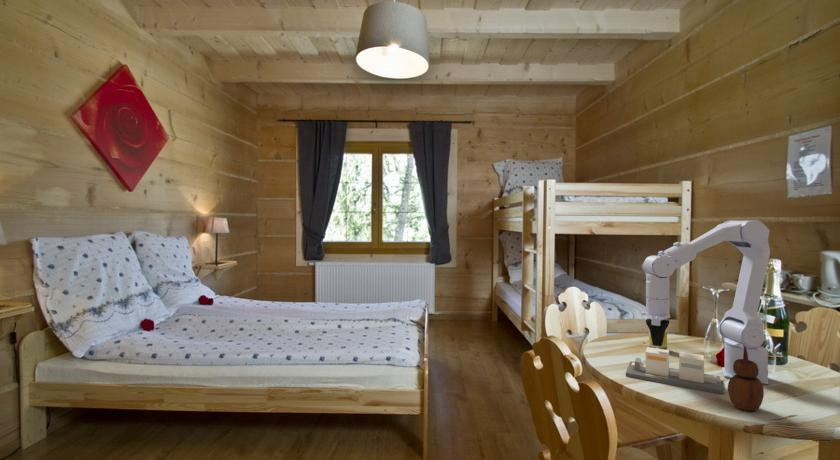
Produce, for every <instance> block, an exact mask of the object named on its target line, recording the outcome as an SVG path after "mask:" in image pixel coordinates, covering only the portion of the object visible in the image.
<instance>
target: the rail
mask: <svg viewBox="0 0 840 460" xmlns="http://www.w3.org/2000/svg"><path fill="white" fill-rule="evenodd" d="M641 358H642V357H641ZM641 358H639V357H635V360H634V361H631V360H630V362H629V364H628V366H627V369H626V371H625V377H629V378H632V379H634V378H635V379H639V380H644V381H649V382H650V381H651V382H656V383H661V384H667V385H672V386H678V387H683V388H687V389H692V390H693V389H694V390H697V391H705V392H709V393H710V392H711V393H714V394H715V393H716V394H720V395H723V386H722V381H721V376H720V375H714V374H709V373H705V356H704V354H698V353H693V352H692V353H690V352H682V351H679V355H678V358H679V359H678V362H679V364H678V365H679V368H673V367H672V368H671V367H669V370H668V377H667V376H661V375H656V374H650V373H646V363H642V359H641Z"/></svg>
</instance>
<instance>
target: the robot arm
mask: <svg viewBox="0 0 840 460" xmlns="http://www.w3.org/2000/svg"><path fill="white" fill-rule="evenodd" d="M770 230H771V229H769V228H768V227H767V226H766V225H765V224H764V223H763V222H762V221H761V220H757V219H751V220H736V219H735V220H734V219H733V220H731V219H730V220H726V221H724V222H723V223H719V224H717V225H716V226H715V227H713V228H712V229H710V230H708V231H707V232H705V233H704V234H702V235H700V236H698V237H697V238H695V239H693V240H691V241H689V242H685V241H681V242H679V241H676V242H674V243H673V244H672V245H673V246H671V247H669V248H667V249H665V250H659V251H658V252H657V253H658V254H657V255H649V256H647V257H646V258H645V260H644V261H643V264H641V268H642V271H643V272H644V273H645V279H646V280H645V311H644V310H643V311H641V312H640V313H641V315H643V316H646V317H647V318H646V320H645V324H646V325H647V327H648V331H649V330H650V333H651V338H652V343H653V345H654V346H661V347H662V344H663V339H664V334H665V331H666V329H667V328H668V327H669V325H670V320H669V319H670V318H671V314H670V276H672V275H673V273H674V272H675V270H676V269H678V268H681V267H682V266H684V265H686V264H689V263H690V262H691V261H693V260H695V259H696V258H697V257H696V256H697V254H698V253H700V252H702V251H705V250H707V249H710V248H711V247H713V246H715V245H717V244H720V243H721V242H727V243H729V244H731V245H732V246H734V247H736V248H737V249H738V250H739V251H740V252H741V253H742V255H743V257H742V261H741V266H740V271H739V276H738V280H737V285H736V289H735V294H734V299H733V303H732V307H731V308H730V309H729V310H727V311H726V312H724V315H723V318H722V319H721V321H720V322H719V323H718V333H719V335H720V336H721V337H723V341H724V366H723V367H721V370H722V374H723V377H724V378H729V379H731V378H732V377H733V376H734V375H736V374H735V373H734V371H733V364H734V362H735V361H736V360H737V359H743V354H744V346H745V347H746V350H747V353H748V360H750V361H753V362H755V363H756V364H757V365H758V369H759V374H758V376H757V377H756V378H758V379H759V380H760V381H761V383H762V384H763V385H764V384H765V385H768V384H769V381H768V379H769V359H768V357H769V356H768V350H767V348H766V347H761V345H762V344H763V343H764V341H765V335H766V334H765V332H764V325H765V323H764V321H763V320H762V318H761V317H760V315H758V310H759V307H760V306H759V305H760V301H761V297H762V292H763V288H764V283H765V278H766V274H767V270H768V263H769V260H770V255H771V248H770V244H769V235H770ZM667 330H668V329H667Z"/></svg>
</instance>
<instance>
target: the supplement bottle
mask: <svg viewBox="0 0 840 460" xmlns="http://www.w3.org/2000/svg"><path fill="white" fill-rule="evenodd" d="M648 347H650V348H657V349H664V350H668V329H666V331H665V334H664V339H663V344H662V347H661V346H654V345H653V343H652V338H651V333H650V330H649V329H648Z"/></svg>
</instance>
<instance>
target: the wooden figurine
mask: <svg viewBox="0 0 840 460" xmlns="http://www.w3.org/2000/svg"><path fill="white" fill-rule="evenodd" d="M733 371H734V373H735V374H736V375H734V376H733V377H732V378H729V381H728V384H727V393H728V398H729V399H730V402H731V403H732V405H733V406H734V407H736V408H738V409H739V410H741V411H746V412H755V411H757V410H759V409H760V407H761V405H762V403H763V400H764V396H765V394H764V393H765V391H764V387H763V386H764V384H763V383H761V381H760V380H759V379H758V378H756V377H757V376H758V374H759V369H758V365H757V364H756V363H755V362H753V361H750V360H748V353H747V350H746V347H745V346H744V354H743V359H737V360H736V361H735V362H734V364H733Z"/></svg>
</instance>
